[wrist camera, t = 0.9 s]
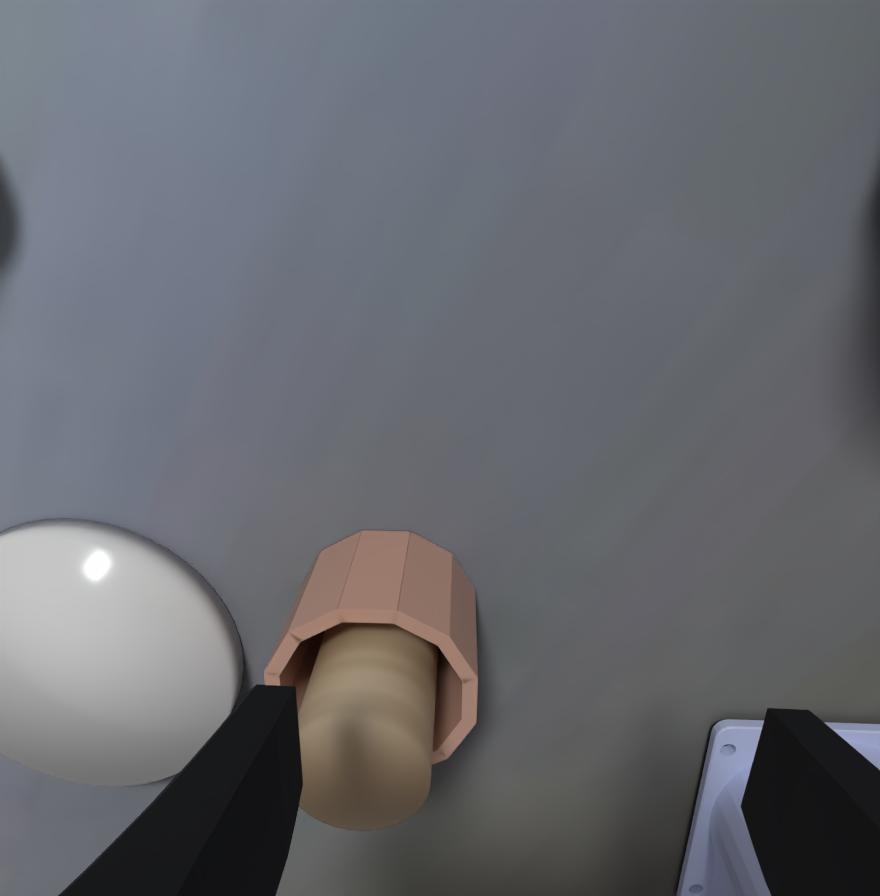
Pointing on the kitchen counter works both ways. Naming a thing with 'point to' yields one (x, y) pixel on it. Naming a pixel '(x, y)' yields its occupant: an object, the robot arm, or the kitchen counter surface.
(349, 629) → the peg
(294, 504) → the kitchen counter surface
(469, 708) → the sleeve
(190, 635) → the white glossy domed part
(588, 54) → the kitchen counter surface
